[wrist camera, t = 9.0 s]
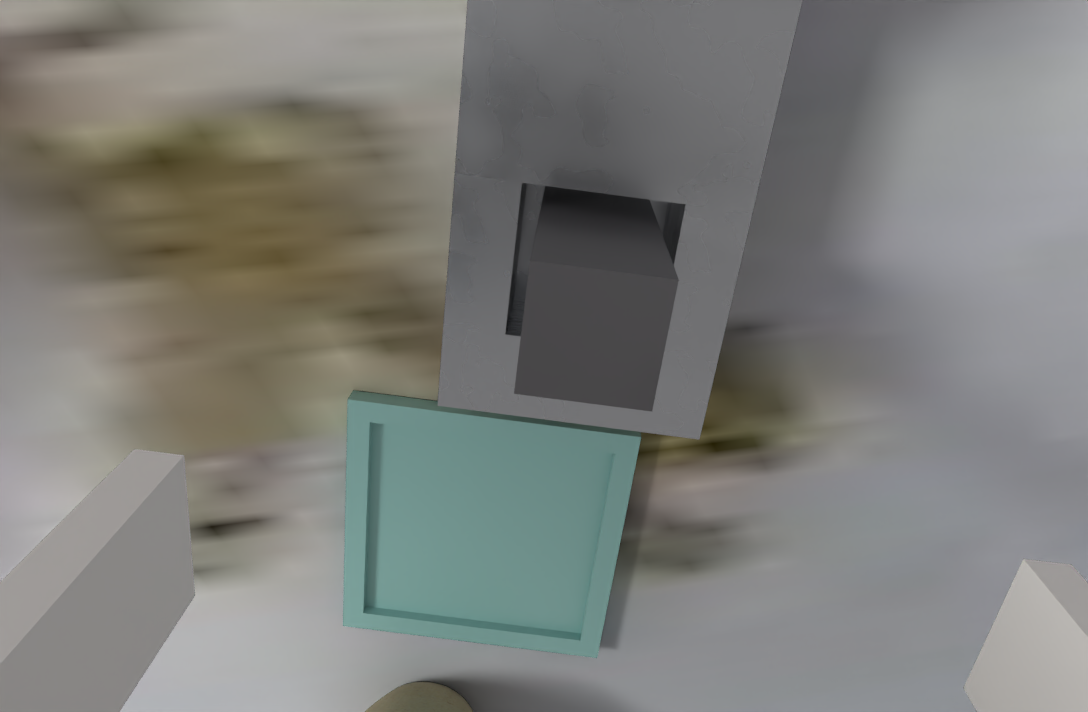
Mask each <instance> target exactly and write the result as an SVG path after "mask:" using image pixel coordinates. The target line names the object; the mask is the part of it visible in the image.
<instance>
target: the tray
mask: <svg viewBox="0 0 1088 712" xmlns="http://www.w3.org/2000/svg"><path fill="white" fill-rule="evenodd" d="M437 405H438V401H432V400H424V399H417V398H409V397H401V396H393V395H386V394H378V393H370V392H362V391H355V390H353V392H352V393H351V395H350V397H349V398H348V410H347V458H346V506H345V553H344V601H343V626H348V627H356V628H363V629H371V630H379V631H387V632H395V633H403V634H411V635H419V636H427V637H435V638H443V639H451V640H458V641H466V642H474V643H482V644H490V645H498V646H506V647H514V648H522V649H530V650H538V651H546V652H554V653H561V654H569V655H577V656H585V657H593V658H597V656H598V651H599V646H600V641H601V636H602V631H603V626H604V621H605V616H606V611H607V606H608V601H609V596H610V591H611V586H612V581H613V576H614V571H615V566H616V561H617V556H618V551H619V546H620V541H621V536H622V531H623V526H624V521H625V516H626V511H627V506H628V501H629V496H630V491H631V486H632V481H633V476H634V471H635V466H636V461H637V456H638V451H639V446H640V441H641V432H637V431H630V430H622V429H614V428H606V427H599V426H591V425H583V424H575V423H568V422H560V421H552V420H544V419H537V418H529V417H521V416H513V415H506V414H498V413H490V412H482V411H475V410H467V409H459V408H451V407H444V406H437Z"/></svg>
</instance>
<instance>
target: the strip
mask: <svg viewBox="0 0 1088 712" xmlns="http://www.w3.org/2000/svg"><path fill="white" fill-rule="evenodd" d="M802 1H803V0H468V3H467V16H466V30H465V43H464V57H463V70H462V83H461V97H460V110H459V124H458V137H457V150H456V164H455V177H454V191H453V204H452V218H451V231H450V244H449V258H448V271H447V285H446V298H445V311H444V325H443V338H442V352H441V365H440V379H439V392H438V405H437V406H444V407H451V408H459V409H467V410H475V411H482V412H490V413H498V414H506V415H513V416H521V417H529V418H537V419H544V420H552V421H560V422H568V423H575V424H583V425H591V426H599V427H606V428H614V429H622V430H630V431H637V432H645V433H653V434H661V435H668V436H676V437H684V438H692V439H700V435H701V431H702V426H703V422H704V418H705V414H706V409H707V405H708V401H709V397H710V392H711V388H712V384H713V380H714V375H715V371H716V367H717V363H718V358H719V354H720V350H721V346H722V341H723V337H724V333H725V329H726V324H727V320H728V316H729V312H730V307H731V303H732V299H733V295H734V290H735V286H736V282H737V278H738V273H739V269H740V265H741V261H742V256H743V252H744V248H745V244H746V239H747V235H748V231H749V227H750V222H751V218H752V214H753V210H754V205H755V201H756V197H757V193H758V188H759V184H760V180H761V176H762V171H763V167H764V163H765V159H766V154H767V150H768V146H769V142H770V137H771V133H772V129H773V125H774V120H775V116H776V112H777V108H778V103H779V99H780V95H781V91H782V86H783V82H784V78H785V74H786V69H787V65H788V61H789V57H790V52H791V48H792V44H793V40H794V35H795V31H796V27H797V23H798V18H799V14H800V10H801V6H802ZM545 186H550V187H558V188H565V189H573V190H581V191H588V192H596V193H603V194H611V195H618V196H626V197H634V198H641V199H649V200H650V202H651V205H652V208H653V211H654V213H655V216H656V219H657V222H658V224H659V227H660V230H661V232H662V235H663V238H664V241H665V243H666V246H667V249H668V252H669V254H670V257H671V260H672V263H673V265H674V268H675V271H676V274H677V276H678V279H679V282H678V287H677V291H676V296H675V301H674V306H673V311H672V316H671V321H670V326H669V331H668V336H667V341H666V346H665V351H664V355H663V360H662V365H661V370H660V375H659V380H658V385H657V390H656V395H655V400H654V405H653V410H652V412H651V411H643V410H636V409H628V408H620V407H612V406H605V405H597V404H589V403H581V402H574V401H566V400H558V399H551V398H543V397H535V396H527V395H520V394H514V389H515V381H516V372H517V364H518V356H519V347H520V339H521V330H522V322H523V314H524V305H525V297H526V288H527V280H528V272H529V263H530V257H531V252H532V248H533V243H534V238H535V233H536V228H537V224H538V219H539V214H540V209H541V204H542V200H543V195H544V190H545Z"/></svg>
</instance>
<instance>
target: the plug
mask: <svg viewBox="0 0 1088 712" xmlns="http://www.w3.org/2000/svg"><path fill="white" fill-rule="evenodd" d="M678 282H679V279H678V276H677V274H676V271H675V268H674V265H673V263H672V260H671V257H670V254H669V252H668V249H667V246H666V243H665V241H664V238H663V235H662V232H661V230H660V227H659V224H658V222H657V219H656V216H655V213H654V211H653V208H652V205H651V202H650V200H649V199H641V198H634V197H626V196H618V195H611V194H603V193H596V192H588V191H581V190H573V189H565V188H558V187H550V186H545V190H544V195H543V200H542V204H541V209H540V214H539V219H538V224H537V228H536V233H535V238H534V243H533V248H532V252H531V257H530V263H529V272H528V280H527V288H526V297H525V305H524V314H523V322H522V330H521V339H520V347H519V356H518V364H517V372H516V381H515V389H514V394H520V395H527V396H535V397H543V398H551V399H558V400H566V401H574V402H581V403H589V404H597V405H605V406H612V407H620V408H628V409H636V410H643V411H651V412H652V410H653V405H654V400H655V395H656V390H657V385H658V380H659V375H660V370H661V365H662V360H663V355H664V351H665V346H666V341H667V336H668V331H669V326H670V321H671V316H672V311H673V306H674V301H675V296H676V291H677V287H678Z"/></svg>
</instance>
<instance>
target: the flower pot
mask: <svg viewBox="0 0 1088 712" xmlns="http://www.w3.org/2000/svg"><path fill="white" fill-rule="evenodd" d="M365 712H473V710H472V709H471V707H470V706H469V704H468V703H467V701H466V700H465V699H464V698H463V697H462V696H461V695H460V694H458V693H457V692H455V691H454V690H452V689H450V688H448V687H446V686H444V685H441V684H437V683H431V682H413V683H408V684H405V685H402V686H400V687H398V688H396V689H395V690H393V691H391V692H390V693H388V694H387V695H385V696H384V697H382V698H381V699H380V700H378V701H377V702H376V703H374V704H373V705H372V706H371V707H369V708H368V709H367V710H366V711H365Z"/></svg>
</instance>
